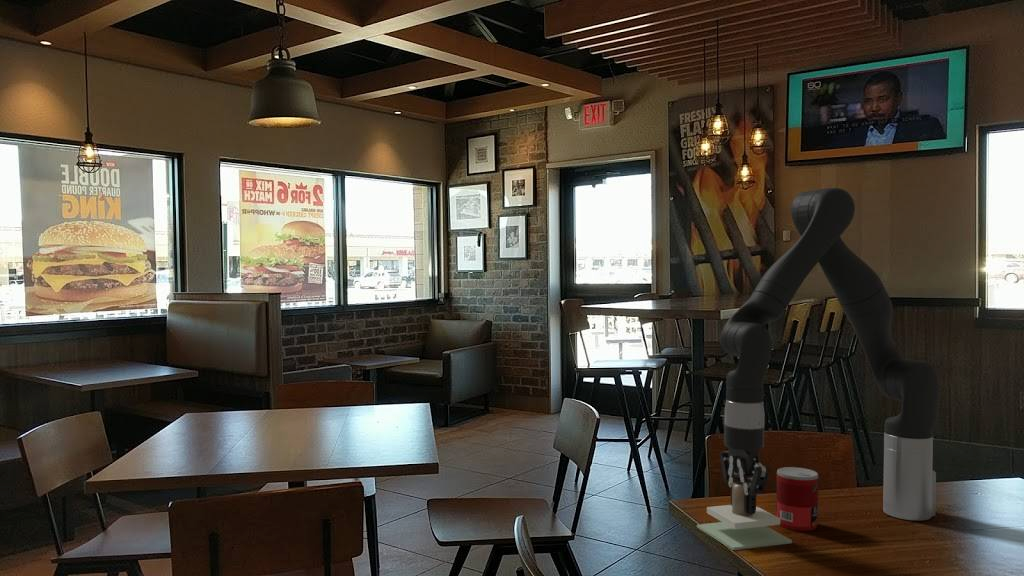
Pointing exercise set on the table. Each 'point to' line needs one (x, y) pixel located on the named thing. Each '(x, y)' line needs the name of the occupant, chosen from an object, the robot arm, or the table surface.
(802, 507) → the canned food
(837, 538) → the table surface
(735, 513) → the lid
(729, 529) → the mat
